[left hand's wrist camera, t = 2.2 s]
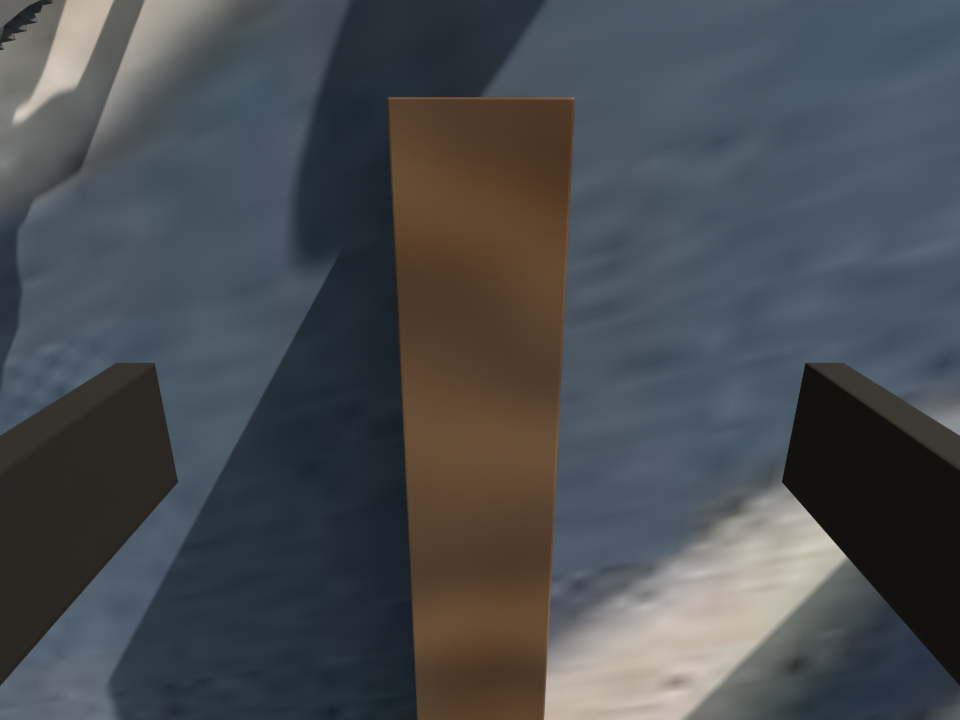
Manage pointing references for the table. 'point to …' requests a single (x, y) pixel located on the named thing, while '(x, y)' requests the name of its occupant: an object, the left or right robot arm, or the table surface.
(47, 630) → the left robot arm
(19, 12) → the toy
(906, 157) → the table surface
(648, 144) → the table surface
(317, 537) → the table surface
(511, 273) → the post
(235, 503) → the table surface
